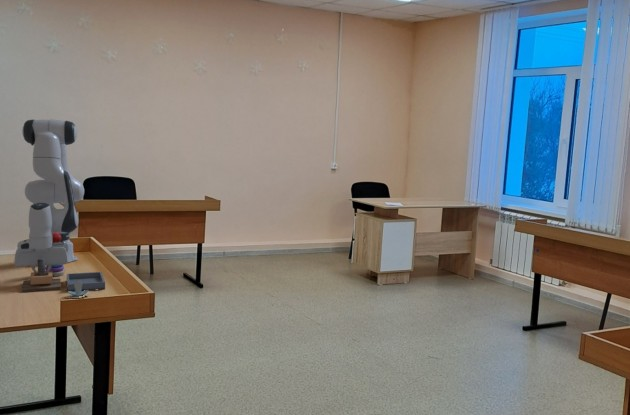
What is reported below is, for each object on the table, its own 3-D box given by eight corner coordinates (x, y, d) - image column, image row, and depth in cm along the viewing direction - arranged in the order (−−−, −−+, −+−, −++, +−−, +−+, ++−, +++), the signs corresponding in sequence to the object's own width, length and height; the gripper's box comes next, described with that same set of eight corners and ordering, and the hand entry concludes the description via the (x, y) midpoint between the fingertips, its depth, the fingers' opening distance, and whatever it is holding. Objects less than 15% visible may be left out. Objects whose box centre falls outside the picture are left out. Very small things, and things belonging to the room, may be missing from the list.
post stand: (23, 283, 256) (22, 256, 254) (60, 281, 261) (59, 255, 260) (22, 292, 243) (21, 264, 242) (60, 289, 249) (60, 262, 247)
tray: (66, 280, 262) (66, 273, 262) (101, 278, 268) (101, 271, 267) (67, 291, 246) (67, 284, 246) (105, 289, 251) (105, 282, 251)
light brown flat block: (31, 277, 258) (31, 270, 257) (52, 276, 261) (52, 269, 261) (30, 284, 247) (30, 277, 246) (52, 283, 250) (52, 276, 250)
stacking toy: (57, 277, 267) (56, 234, 264) (40, 276, 268) (39, 233, 266) (68, 273, 275) (67, 231, 272) (52, 272, 276) (51, 230, 274)
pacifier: (88, 299, 238) (88, 294, 244) (88, 283, 237) (88, 279, 243) (68, 300, 236) (68, 295, 241) (67, 284, 235) (67, 280, 240)
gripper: (67, 240, 262) (68, 272, 264) (14, 242, 254) (15, 275, 256) (68, 243, 257) (69, 275, 259) (13, 245, 249) (14, 279, 251)
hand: (41, 275), depth 257 cm, fingers closed on light brown flat block, 2 cm apart
